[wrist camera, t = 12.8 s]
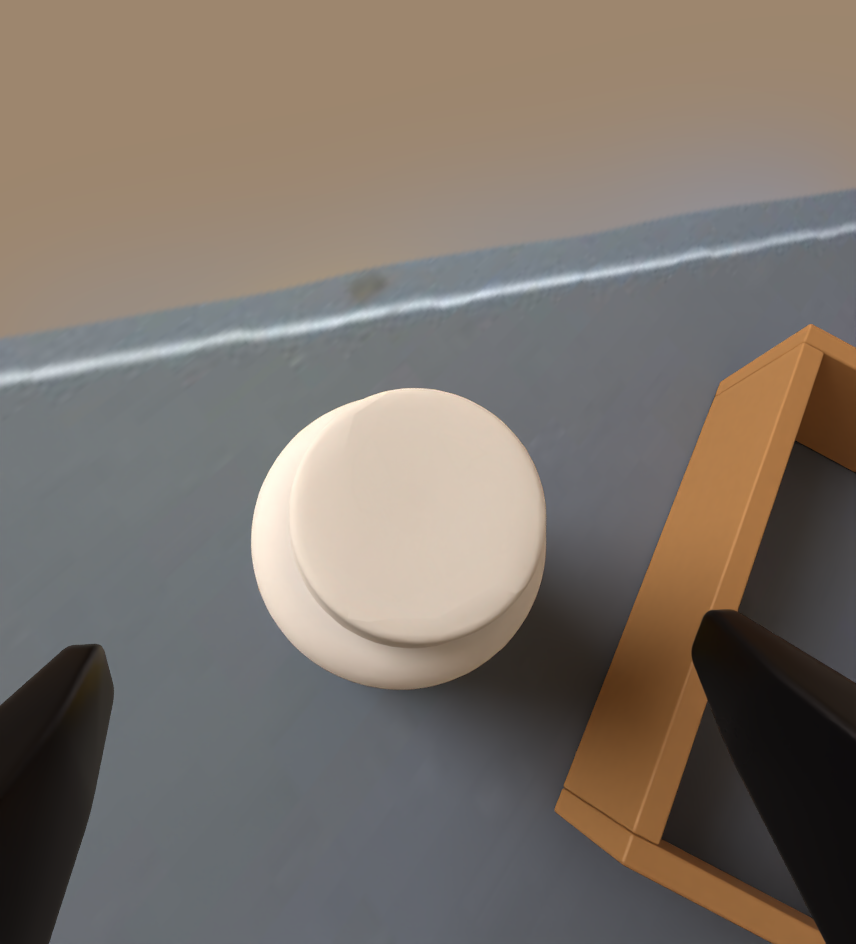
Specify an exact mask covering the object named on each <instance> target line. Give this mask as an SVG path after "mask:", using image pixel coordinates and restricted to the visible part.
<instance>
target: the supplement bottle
mask: <svg viewBox="0 0 856 944" xmlns="http://www.w3.org/2000/svg"><path fill="white" fill-rule="evenodd" d="M251 551H252V560H253V566H254V572H255V576H256V580H257V583H258V587H259V590H260V593H261V595H262V598H263V600H264V602H265V604H266V607H267V609H268V611H269V613H270V614H271V616H272V617H273V619H274V621H275V622H276V624H277V625H278V627H279V628H280V629H281V631H282V632H283V633H284V634H285V636H286V637H287V638H288V640H289V641H290V642H291V643H292V644H293V645H294V646H295V647H296V648H297V649H298V650H299V651H300V652H302V653H303V654H304V655H305V656H306V657H308V658H309V659H310V660H311V661H313V662H314V663H316V664H317V665H319V666H320V667H322V668H324V669H325V670H327V671H329V672H331V673H333V674H335V675H337V676H339V677H341V678H344V679H347V680H349V681H352V682H355V683H359V684H362V685H366V686H370V687H376V688H382V689H394V690H409V689H418V688H426V687H431V686H434V685H438V684H442V683H445V682H448V681H451V680H453V679H456V678H458V677H460V676H463V675H465V674H467V673H469V672H471V671H472V670H474V669H476V668H478V667H479V666H480V665H482V664H483V663H485V662H486V661H488V660H489V659H490V658H491V657H493V656H494V655H495V654H496V653H497V652H498V651H500V650H501V649H502V648H503V647H504V646H505V645H506V644H507V643H508V642H509V640H510V639H511V638H512V637H513V636H514V635H515V633H516V632H517V630H518V629H519V628H520V626H521V625H522V623H523V622H524V620H525V618H526V617H527V615H528V613H529V611H530V609H531V607H532V605H533V603H534V600H535V598H536V596H537V593H538V590H539V587H540V584H541V580H542V575H543V570H544V564H545V557H546V504H545V498H544V492H543V488H542V485H541V481H540V478H539V475H538V473H537V470H536V467H535V465H534V463H533V461H532V459H531V457H530V456H529V454H528V452H527V450H526V448H525V447H524V446H523V444H522V443H521V442H520V440H519V439H518V438H517V436H516V435H515V434H514V433H513V432H512V431H511V430H510V429H509V428H508V427H507V425H506V424H504V423H503V422H502V421H501V420H500V419H499V418H497V417H496V416H495V415H494V414H492V413H491V412H489V411H488V410H486V409H485V408H483V407H481V406H480V405H478V404H476V403H474V402H472V401H470V400H468V399H466V398H463V397H461V396H458V395H455V394H452V393H447V392H443V391H439V390H433V389H420V388H406V389H397V390H391V391H386V392H382V393H378V394H375V395H372V396H369V397H367V398H365V399H362V400H359V401H355V402H352V403H349V404H346V405H344V406H341V407H339V408H336V409H334V410H332V411H330V412H329V413H327V414H325V415H323V416H321V417H320V418H318V419H316V420H315V421H314V422H312V423H311V424H310V425H308V426H307V427H306V428H304V429H303V430H302V431H300V432H299V433H298V434H297V435H296V436H295V437H294V438H293V439H292V440H291V442H290V443H289V444H288V445H287V446H286V447H285V449H284V450H283V451H282V452H281V454H280V455H279V456H278V458H277V459H276V461H275V463H274V464H273V466H272V467H271V469H270V471H269V473H268V475H267V477H266V479H265V481H264V483H263V485H262V488H261V490H260V493H259V496H258V499H257V503H256V507H255V511H254V516H253V522H252V537H251Z"/></svg>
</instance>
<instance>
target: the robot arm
mask: <svg viewBox="0 0 856 944" xmlns="http://www.w3.org/2000/svg"><path fill="white" fill-rule="evenodd" d="M691 656H692V661H693V664H694V667H695V669H696V672H697V674H698V677H699V680H700V682H701V685H702V687H703V690H704V692H705V695H706V697H707V700H708V702H709V705H710V708H711V710H712V713H713V715H714V718H715V720H716V723H717V725H718V728H719V730H720V733H721V736H722V738H723V740H724V743H725V745H726V747H727V750H728V752H729V754H730V756H731V758H732V760H733V762H734V764H735V766H736V768H737V770H738V772H739V774H740V776H741V778H742V780H743V782H744V784H745V786H746V788H747V790H748V792H749V794H750V796H751V798H752V800H753V802H754V804H755V806H756V808H757V810H758V812H759V814H760V816H761V818H762V819H763V821H764V823H765V825H766V827H767V829H768V831H769V833H770V835H771V837H772V839H773V841H774V843H775V845H776V847H777V849H778V851H779V853H780V855H781V857H782V859H783V861H784V863H785V865H786V867H787V868H788V870H789V872H790V874H791V876H792V878H793V880H794V882H795V884H796V886H797V888H798V890H799V892H800V894H801V896H802V898H803V900H804V902H805V904H806V906H807V908H808V910H809V912H810V914H811V916H812V917H813V919H814V921H815V923H816V925H817V927H818V929H819V931H820V933H821V935H822V937H823V939H824V941H825V943H826V944H856V683H855V682H853V681H851V680H850V679H848V678H846V677H845V676H843V675H841V674H840V673H838V672H836V671H835V670H833V669H832V668H830V667H828V666H827V665H825V664H823V663H822V662H820V661H818V660H817V659H815V658H813V657H812V656H810V655H808V654H807V653H805V652H803V651H802V650H800V649H799V648H797V647H795V646H794V645H792V644H790V643H789V642H787V641H785V640H784V639H782V638H780V637H779V636H777V635H775V634H774V633H772V632H770V631H769V630H767V629H765V628H764V627H762V626H761V625H759V624H757V623H756V622H754V621H752V620H751V619H749V618H747V617H746V616H744V615H742V614H741V613H739V612H737V611H735V610H732V609H720V610H710V611H707V612H706V613H705V614H704V616H703V618H702V621H701V623H700V626H699V629H698V631H697V634H696V637H695V639H694V642H693V645H692V650H691ZM113 698H114V687H113V682H112V678H111V674H110V670H109V667H108V663H107V659H106V655H105V652H104V649H103V648H102V646H100V645H98V644H85V645H72V646H68V647H67V648H65V649H64V650H62V651H61V652H60V653H59V654H58V655H57V656H56V657H54V658H53V659H52V660H51V661H50V662H49V663H48V664H47V665H45V666H44V667H43V668H42V669H41V670H40V671H39V672H38V673H36V674H35V675H34V676H33V677H32V678H31V679H30V680H29V681H27V682H26V683H25V684H24V685H23V686H22V687H21V688H19V689H18V690H17V691H16V692H15V693H14V694H13V695H12V696H10V697H9V698H8V699H7V700H6V701H5V702H4V703H3V704H1V705H0V944H49V941H50V938H51V935H52V932H53V929H54V926H55V923H56V920H57V916H58V913H59V910H60V907H61V904H62V901H63V898H64V895H65V892H66V888H67V885H68V882H69V879H70V876H71V873H72V870H73V867H74V864H75V860H76V857H77V854H78V851H79V848H80V845H81V842H82V839H83V836H84V832H85V829H86V826H87V822H88V819H89V815H90V812H91V808H92V803H93V799H94V794H95V789H96V784H97V779H98V774H99V769H100V765H101V760H102V755H103V750H104V745H105V740H106V735H107V730H108V725H109V720H110V715H111V710H112V705H113Z"/></svg>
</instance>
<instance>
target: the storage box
mask: <svg viewBox="0 0 856 944" xmlns="http://www.w3.org/2000/svg"><path fill="white" fill-rule="evenodd" d="M795 440H796V441H798V442H800V443H801V444H803V445H805V446H807V447H809V448H811V449H813V450H814V451H816V452H818V453H820V454H822V455H824V456H826V457H827V458H829V459H831V460H833V461H835V462H837V463H838V464H840V465H842V466H844V467H846V468H848V469H850V470H851V471H853V472H855V473H856V348H855V347H853V346H851V345H850V344H848V343H846V342H844V341H842V340H840V339H839V338H837V337H835V336H833V335H831V334H829V333H827V332H826V331H824V330H822V329H820V328H818V327H816V326H815V325H813V324H809V325H808V326H806V327H805V328H803V329H802V330H800V331H799V332H797V333H795V334H794V335H792V336H791V337H789V338H788V339H786V340H785V341H783V342H782V343H780V344H778V345H777V346H775V347H774V348H772V349H771V350H769V351H768V352H766V353H765V354H763V355H761V356H760V357H758V358H757V359H755V360H754V361H752V362H751V363H749V364H748V365H746V366H744V367H743V368H741V369H740V370H738V371H737V372H735V373H734V374H732V375H731V376H729V377H727V378H726V379H724V380H723V381H721V382H720V385H719V387H718V390H717V392H716V395H715V398H714V400H713V403H712V405H711V408H710V410H709V413H708V415H707V418H706V421H705V423H704V426H703V428H702V431H701V433H700V436H699V439H698V441H697V444H696V446H695V449H694V451H693V454H692V457H691V459H690V462H689V464H688V467H687V469H686V472H685V475H684V477H683V480H682V482H681V485H680V487H679V490H678V493H677V495H676V498H675V500H674V503H673V505H672V508H671V511H670V513H669V516H668V518H667V521H666V523H665V526H664V529H663V531H662V534H661V536H660V539H659V541H658V544H657V547H656V549H655V552H654V554H653V557H652V559H651V562H650V565H649V567H648V570H647V572H646V575H645V577H644V580H643V583H642V585H641V588H640V590H639V593H638V595H637V598H636V601H635V603H634V606H633V608H632V611H631V614H630V616H629V619H628V621H627V624H626V626H625V629H624V632H623V634H622V637H621V639H620V642H619V644H618V647H617V650H616V652H615V655H614V657H613V660H612V662H611V665H610V668H609V670H608V673H607V675H606V678H605V680H604V683H603V686H602V688H601V691H600V693H599V696H598V698H597V701H596V704H595V706H594V709H593V711H592V714H591V716H590V719H589V722H588V724H587V727H586V729H585V732H584V734H583V737H582V740H581V742H580V745H579V747H578V750H577V752H576V755H575V758H574V760H573V763H572V765H571V768H570V770H569V773H568V776H567V778H566V781H565V783H564V788H565V789H564V788H563V789H562V791H561V794H560V796H559V799H558V802H557V804H556V807H555V812H556V813H557V814H559V815H560V816H561V817H562V818H564V819H565V820H566V821H568V822H569V823H570V824H571V825H573V826H574V827H575V828H576V829H578V830H579V831H580V832H582V833H583V834H584V835H585V836H587V837H588V838H589V839H590V840H592V841H593V842H594V843H596V844H597V845H598V846H599V847H601V848H602V849H603V850H604V851H606V852H607V853H608V854H610V855H611V856H612V857H613V858H615V859H616V860H617V861H618V862H620V863H621V864H622V865H624V866H626V867H628V868H630V869H631V870H633V871H635V872H637V873H639V874H641V875H643V876H645V877H647V878H649V879H651V880H652V881H654V882H656V883H658V884H660V885H662V886H664V887H666V888H668V889H670V890H672V891H673V892H675V893H677V894H679V895H681V896H683V897H685V898H687V899H689V900H691V901H692V902H694V903H696V904H698V905H700V906H702V907H704V908H706V909H708V910H710V911H712V912H713V913H715V914H717V915H719V916H721V917H723V918H725V919H727V920H729V921H731V922H733V923H734V924H736V925H738V926H740V927H742V928H744V929H746V930H748V931H750V932H752V933H754V934H755V935H757V936H759V937H761V938H763V939H765V940H767V941H769V942H771V943H773V944H826V943H825V941H824V939H823V937H822V935H821V933H820V931H819V929H818V927H817V925H816V923H815V921H814V919H813V918H811V917H809V916H807V915H805V914H803V913H801V912H799V911H798V910H796V909H794V908H792V907H790V906H788V905H786V904H784V903H782V902H780V901H779V900H777V899H775V898H773V897H771V896H769V895H767V894H765V893H763V892H761V891H759V890H758V889H756V888H754V887H752V886H750V885H748V884H746V883H744V882H742V881H740V880H739V879H737V878H735V877H733V876H731V875H729V874H727V873H725V872H723V871H721V870H720V869H718V868H716V867H714V866H712V865H710V864H708V863H706V862H704V861H702V860H701V859H699V858H697V857H695V856H693V855H691V854H689V853H687V852H685V851H683V850H681V849H680V848H678V847H676V846H674V845H672V844H670V843H668V842H666V841H664V840H662V839H661V837H662V834H663V831H664V828H665V825H666V822H667V819H668V817H669V814H670V811H671V808H672V805H673V802H674V799H675V796H676V793H677V790H678V787H679V784H680V781H681V778H682V775H683V772H684V769H685V766H686V763H687V760H688V757H689V754H690V751H691V748H692V745H693V742H694V739H695V736H696V733H697V730H698V727H699V724H700V721H701V718H702V715H703V712H704V709H705V706H706V703H707V697H706V695H705V692H704V690H703V687H702V685H701V682H700V680H699V677H698V674H697V672H696V669H695V667H694V664H693V661H692V656H691V650H692V645H693V642H694V639H695V637H696V634H697V631H698V629H699V626H700V623H701V621H702V618H703V616H704V614H705V613H706V612H707V611H710V610H720V609H732V610H735V611H738V608H739V605H740V602H741V599H742V596H743V593H744V590H745V587H746V584H747V581H748V578H749V575H750V572H751V570H752V567H753V564H754V561H755V558H756V555H757V552H758V549H759V546H760V543H761V540H762V537H763V534H764V531H765V528H766V525H767V522H768V519H769V516H770V513H771V510H772V507H773V504H774V501H775V498H776V495H777V492H778V489H779V486H780V483H781V480H782V477H783V474H784V471H785V468H786V465H787V462H788V459H789V456H790V453H791V450H792V447H793V445H794V442H795Z"/></svg>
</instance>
